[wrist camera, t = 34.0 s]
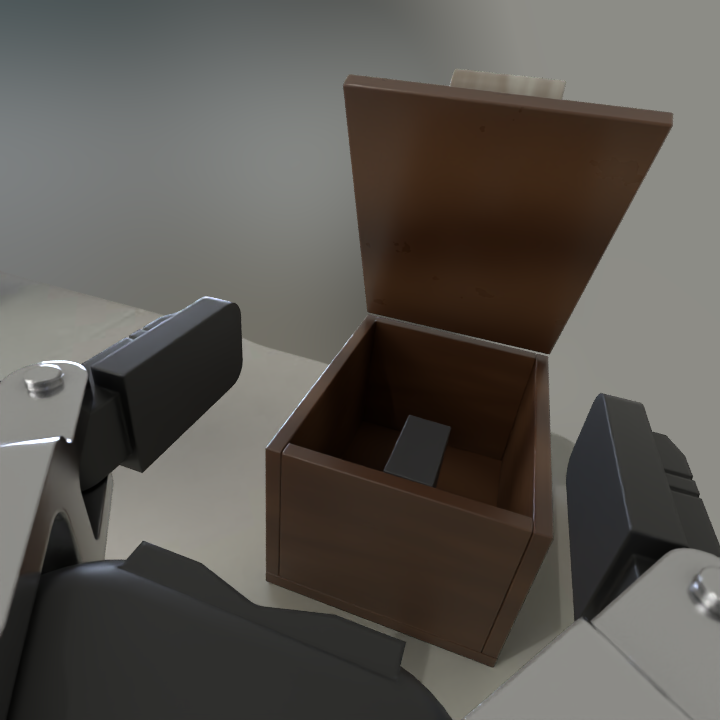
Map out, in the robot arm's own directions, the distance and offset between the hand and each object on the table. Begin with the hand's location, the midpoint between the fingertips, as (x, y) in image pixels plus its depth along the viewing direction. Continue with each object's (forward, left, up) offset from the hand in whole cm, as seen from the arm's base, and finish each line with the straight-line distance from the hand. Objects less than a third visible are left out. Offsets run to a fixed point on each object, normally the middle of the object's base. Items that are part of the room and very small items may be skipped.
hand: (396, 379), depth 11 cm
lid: (-3, -17, -2) cm, 17 cm away
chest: (-2, -13, -19) cm, 23 cm away
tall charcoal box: (-2, -10, -18) cm, 21 cm away
